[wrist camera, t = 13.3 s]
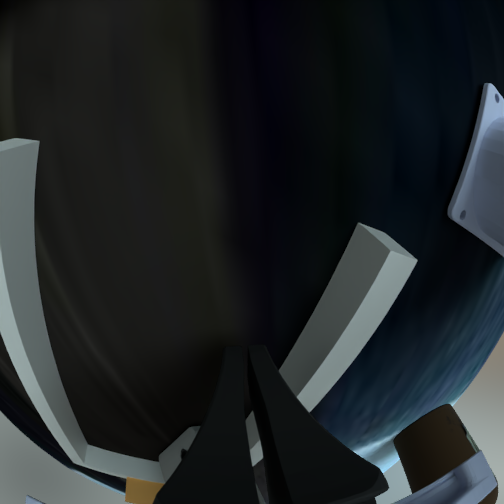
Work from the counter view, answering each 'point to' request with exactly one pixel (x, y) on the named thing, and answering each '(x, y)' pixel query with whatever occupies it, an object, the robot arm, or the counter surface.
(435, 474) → the olive oil
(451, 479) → the robot arm
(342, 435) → the counter surface
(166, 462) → the electrical switch
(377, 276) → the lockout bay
